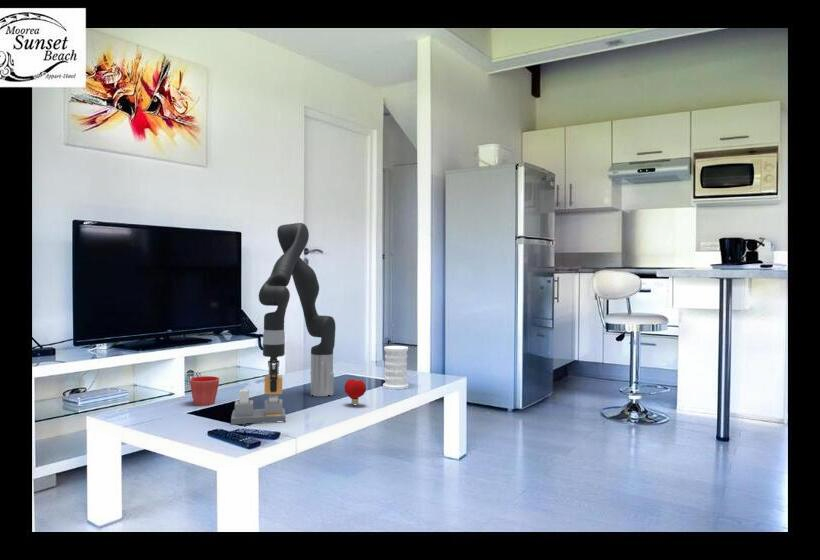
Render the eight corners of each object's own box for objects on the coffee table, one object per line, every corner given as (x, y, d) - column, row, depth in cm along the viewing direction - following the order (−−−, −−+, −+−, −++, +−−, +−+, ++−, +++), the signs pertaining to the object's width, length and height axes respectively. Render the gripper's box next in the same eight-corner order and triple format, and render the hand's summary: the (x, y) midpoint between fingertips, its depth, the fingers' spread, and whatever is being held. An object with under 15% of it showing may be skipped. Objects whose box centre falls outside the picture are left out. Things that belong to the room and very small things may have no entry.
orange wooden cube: (281, 390, 212) (281, 375, 212) (282, 393, 206) (282, 378, 206) (264, 390, 211) (264, 375, 211) (264, 394, 205) (264, 378, 205)
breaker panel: (284, 413, 216) (284, 397, 215) (285, 422, 204) (285, 404, 204) (233, 415, 211) (233, 399, 211) (230, 424, 200) (231, 406, 200)
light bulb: (369, 405, 230) (370, 379, 230) (358, 408, 224) (358, 382, 224) (351, 402, 235) (351, 377, 235) (339, 405, 229) (340, 379, 229)
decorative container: (380, 389, 261) (380, 348, 261) (385, 384, 273) (386, 345, 272) (406, 390, 259) (406, 349, 259) (410, 385, 271) (411, 346, 270)
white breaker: (277, 411, 211) (277, 395, 210) (277, 413, 208) (277, 397, 207) (269, 411, 210) (269, 396, 210) (269, 413, 207) (269, 397, 207)
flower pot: (221, 404, 228) (222, 379, 228) (192, 407, 223) (192, 382, 222) (216, 399, 237) (216, 375, 237) (187, 402, 232) (187, 377, 232)
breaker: (248, 404, 208) (248, 389, 208) (248, 406, 205) (248, 391, 205) (239, 405, 207) (240, 389, 207) (239, 407, 205) (239, 391, 204)
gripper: (285, 344, 202) (284, 393, 202) (284, 339, 216) (283, 385, 216) (262, 345, 200) (262, 394, 201) (263, 340, 214) (262, 386, 215)
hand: (273, 389), depth 209 cm, fingers closed on orange wooden cube, 6 cm apart
